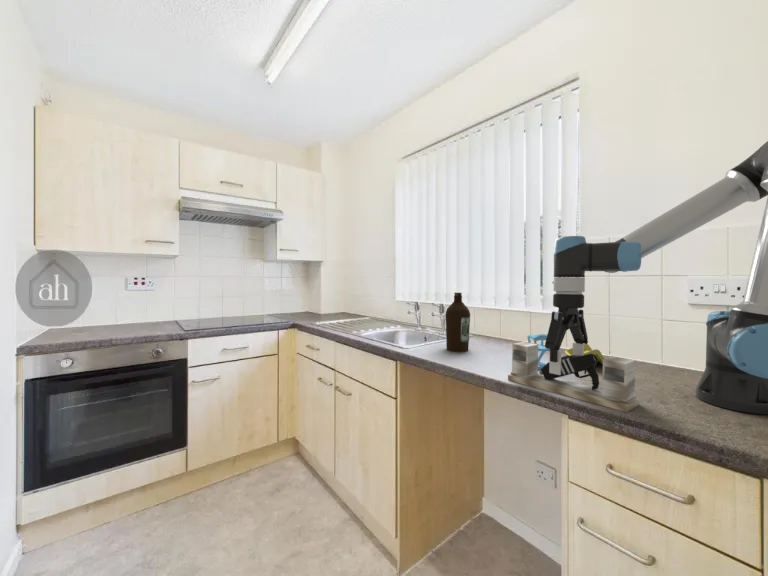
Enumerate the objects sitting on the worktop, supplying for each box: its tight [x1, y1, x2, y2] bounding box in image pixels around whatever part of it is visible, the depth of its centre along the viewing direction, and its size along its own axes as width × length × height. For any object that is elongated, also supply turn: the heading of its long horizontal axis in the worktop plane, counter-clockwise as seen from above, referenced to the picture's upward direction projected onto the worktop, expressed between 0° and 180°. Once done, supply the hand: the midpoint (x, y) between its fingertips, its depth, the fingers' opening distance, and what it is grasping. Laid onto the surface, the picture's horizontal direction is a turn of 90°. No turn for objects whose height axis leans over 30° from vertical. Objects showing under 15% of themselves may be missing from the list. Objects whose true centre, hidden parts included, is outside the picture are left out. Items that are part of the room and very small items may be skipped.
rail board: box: [507, 341, 640, 413], centre depth 92 cm, size 31×8×11 cm, turn 37°
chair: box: [526, 333, 550, 371], centre depth 118 cm, size 8×8×12 cm
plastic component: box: [564, 343, 605, 365], centre depth 123 cm, size 20×7×10 cm
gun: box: [538, 354, 600, 390], centre depth 92 cm, size 3×16×10 cm, turn 37°
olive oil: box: [445, 292, 471, 353], centre depth 146 cm, size 11×11×25 cm
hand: (566, 369), depth 92 cm, fingers open, 13 cm apart
